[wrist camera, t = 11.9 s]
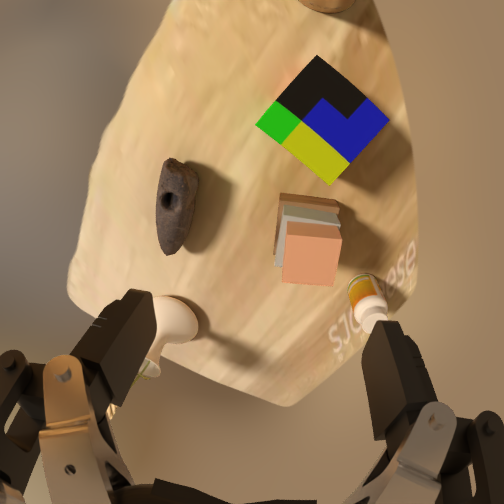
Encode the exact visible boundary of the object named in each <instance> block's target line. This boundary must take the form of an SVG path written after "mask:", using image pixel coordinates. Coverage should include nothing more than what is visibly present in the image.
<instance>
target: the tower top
mask: <svg viewBox="0 0 504 504" xmlns="http://www.w3.org/2000/svg"><path fill="white" fill-rule="evenodd" d="M287 221H294V222H305V223H315V224H325V225H335V226H337V228H338V230H340V226H341V224H340V222H339V219H338V217H337V215H336V213H330V212H325V211H319V210H314V209H308V208H302V207H296V206H290V205H284V207H283V213H282V219H281V224H280V230H279V236H278V242H277V248H276V255H275V266H277V267H283V257H284V247H285V237H286V227H287Z"/></svg>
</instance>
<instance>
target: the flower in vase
mask: <svg viewBox="0 0 504 504" xmlns="http://www.w3.org/2000/svg"><path fill="white" fill-rule="evenodd" d="M153 303H154V310H155V316H156V321H157V333H156V337H155V340H154V342H153V344H152V346H151V347H150V349H149V351H148V353H147V355H146V357H145V359H144V361H143V363H142V365H141V367H140V369H139V372H141V373H140V374H137V375H138V377H137V378H136V379H135V380H134V381H133V383H132V385H131V387H132V386H133V385H134V383H135V382H136V381H137V380H138V379H139V377H142V378H144V379H145V380H147V379H150V378H147V377H144V376H142V374H144V375H146V376H150V377H158V376H159V375H160V374H161V370H160V367H159V358H160V354H161V352H162V349H163V347H164V345H165V344H166V343H171V344H182V343H186V342H188V341H190V340H191V339H193V338H194V337H195V336H196V334H197V332H198V321H197V318H196V316H195V314H194V313H193V311H192V310H191V309H190V308H189V307H188V306H187V305H186V304H185V303H183V302H181V301H180V300H178V299H175V298H172V297H168V296H157V297H153ZM131 387H130V388H131ZM116 409H117V406H116V405H113V404H110V405H109V407H108V409H107V413H108V416H109V419H112V418H113V414H114V415H115V412H116V411H115V410H116Z"/></svg>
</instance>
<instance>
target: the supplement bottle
mask: <svg viewBox="0 0 504 504" xmlns="http://www.w3.org/2000/svg"><path fill="white" fill-rule="evenodd" d="M347 290H348V295H349V298H350V302H351V306H352V309H353V313H354V316H355V319H356V321H357V322H358V323H360V324H361V325H362V328H363V330H364V331H365V332H366V333H369V334H371V332H372V330H373V327H374V325H375V323H376V321H378V320H388V317H387V311H388V306H387V302H386V300H385V298H384V295H383V293H382V291H381V289H380V286H379V284H378V282H377V280H376V278H375V277H374V276H372V275H370V274H359V275H357V276H355V277H354V278H353V279H352V280H351V281H350V282H349V284H348V288H347Z"/></svg>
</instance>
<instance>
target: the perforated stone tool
mask: <svg viewBox="0 0 504 504" xmlns="http://www.w3.org/2000/svg"><path fill="white" fill-rule="evenodd" d="M198 182H199V179H198V176H197V173H196V172H194V171H193V170H192V169H190V168H189V167H187V166H186V165H184V164H183V163H181V162H179V161H177V160H176V159H173V158H169V159H167V160H166V161H164V163H163V167H162V171H161V175H160V179H159V185H158V191H157V202H156V227H157V234H158V239H159V243H160V246H161V249H162V250H163V252H164V254H166V256H168V255H172V254H175V253H176V252H177V251H178V250H179V249H180V247H181V246H182V244H183V242H184V241H185V239H186V237H187V234H188V232H189V228H190V225H191V221H192V217H193V212H194V207H195V194H196V192H197V189H198Z"/></svg>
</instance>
